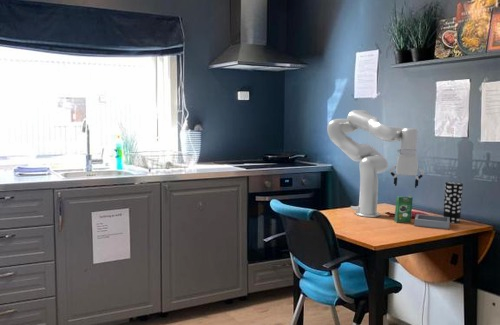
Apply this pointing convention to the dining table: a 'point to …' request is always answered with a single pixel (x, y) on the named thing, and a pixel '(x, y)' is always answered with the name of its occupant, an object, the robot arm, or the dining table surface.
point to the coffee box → (403, 209)
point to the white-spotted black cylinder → (453, 201)
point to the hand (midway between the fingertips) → (405, 186)
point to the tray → (432, 221)
